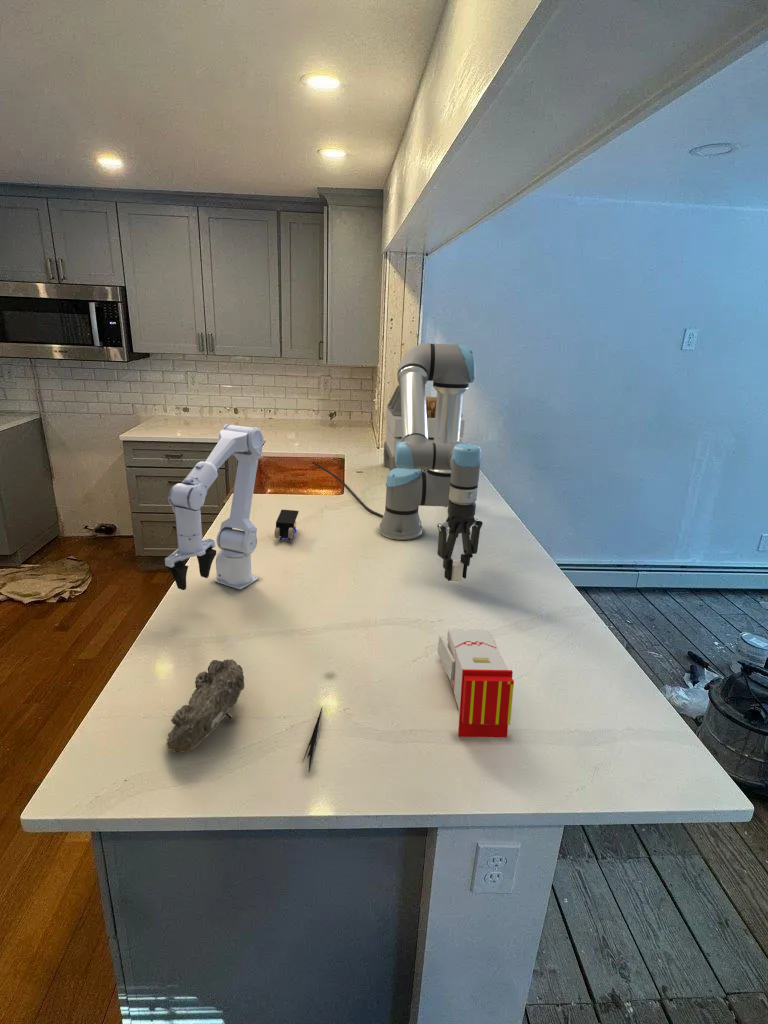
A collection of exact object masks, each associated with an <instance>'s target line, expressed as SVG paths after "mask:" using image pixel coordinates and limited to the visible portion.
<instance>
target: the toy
mask: <svg viewBox="0 0 768 1024" xmlns="http://www.w3.org/2000/svg"><path fill="white" fill-rule="evenodd" d="M446 640H447V643H446V641H445V639H444V636H443V635H442V634H439V637H438V646H437V656H438V657H439V659H440V661H441V663H442V666H443V668H444V670H445V672H446V674H447V677H448V679H449V681H450V684H451V687H452V690H453V693H454V697H455V701H456V705H457V708H458V711H459V714H458V715H459V716H458V730H457V731H458V732H457V737H458V738H508V731H509V726H510V725H511V717H512V707H513V697H514V696H513V695H514V684H515V680H514V679H513V673H514V671H513V670H512V669H508V667H507V665H506V662H505V661H504V659H503V658H502V655H501V653H500V651H499V649H498V647H497V643H496V639H495V637H494V635H493V634H491V632H490V631H489V629H467V628H466V629H465V628H463V629H461V628H460V629H459V628H448V630H447V639H446Z"/></svg>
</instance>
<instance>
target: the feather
mask: <svg viewBox="0 0 768 1024" xmlns="http://www.w3.org/2000/svg"><path fill="white" fill-rule="evenodd" d="M329 675H330V676H331V675H332V674H331V673H330V674H329ZM322 710H323V707H321V708H320V710H319V713H318V716H317V719H316V723H315V725H314V728H313V731H312V733H311V737H310V739H309V742H308V745H307V748H306V751H305V754H304V757H303V760H302V763H301V767H302V765H303V763H304V761H305V758H308V759H309V760H308V762H307V763H308V764H307V766H308V771H310V770H311V766H312V765H311V764H312V760H313V757H315V756H314V755H315V751H316V749H315V746H317V739H318V733H319V729H320V722H321V717H322V712H323V711H322ZM313 754H314V755H313ZM306 755H307V757H306Z"/></svg>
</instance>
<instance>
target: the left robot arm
mask: <svg viewBox="0 0 768 1024" xmlns="http://www.w3.org/2000/svg"><path fill="white" fill-rule="evenodd" d="M264 440H265V437H264V434H263V433H262V431H261V429H260V428H259V427H256V426H253V427H251V426H243V425H236V424H231V423H226V424H225V425H224V426H223V427H222V429H221V430H220V431H219V432H218V441H217V444H216V445H215V446H214V448H213V449H212V450H211V452H210V454H209V455H208V456H207V458H206V460H204V461H198V462H197V463H196V464H195V465H194V467H193V468H192V469H191V470H190V471H189V473H188V474H187V475H186V477H184V479H183V480H182V482H178V483H176V484H173V486H172V487H171V488H170V489H169V493H168V497H167V502H168V504H169V505H170V506H171V508H172V513H173V514H174V515H175V527H176V538H177V549H176V550H175V551H173V552H172V553H170V555H169V556H167V557H165V558H164V565H165V568H166V569H167V570H168V571H169V572H170V574H171V575H172V578H173V580H174V582H175V585H176V587H177V589H178V590H181V591H185V590H187V573H188V569H189V566H188V565H186V564H184V562H183V561H185V560H187V559H190V558H193V557H196V559H197V563H198V570H199V571H198V572H199V575H200V577H202V578H205V579H208V578H209V577H210V573H211V572H210V571H211V569H212V568H211V567H212V564H213V561H214V559H215V572H216V578H215V579H214V583H215V582H216V583H218V584H221V585H224V586H228V587H230V588H233V589H237V590H243V589H244V588H246V587H248V586H249V585H251V584H252V583H255V582H256V581H258V580H259V577H258V576H256V575H252V554H253V552H255V550H256V549H257V545H258V537H257V530H258V528H257V526H256V525H254V523H253V522H252V521H251V520H250V517H251V509H252V504H253V498H254V497H253V496H254V492H255V491H254V490H255V484H256V478H257V477H256V476H257V472H258V471H257V470H258V465H259V460H260V459H261V458H262V453H263V447H264ZM231 456H234V457H235V458H236V460H237V469H236V474H235V481H234V487H233V494H232V499H231V507H230V513H229V517H228V518H227V519H225V520H224V521H222V522H221V523H220V528H219V531H218V533H217V534H216V538H215V539H216V540H215V539H213V538H207V539H204V540H203V529H202V528H203V527H202V516H201V515H202V512H201V508H202V507H203V506H204V504H205V501H206V496H207V495H208V490H209V489H210V487H211V486H212V485H213V484H214V482H215V481H216V480H217V478H218V477H219V473H218V470H219V469H220V467H222V465H224V463H225V462H226V461H227V460H228V459H229V458H230V457H231ZM216 546H217V547H218V549H220V550H219V551H218V552H217V550H216V549H214V548H216ZM215 557H216V558H215Z"/></svg>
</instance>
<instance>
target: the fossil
mask: <svg viewBox="0 0 768 1024" xmlns="http://www.w3.org/2000/svg"><path fill="white" fill-rule="evenodd" d="M243 670H244V669H243V667H242V665H240V664H237V662H236V661H235V660H234V659H232V658H231V659H227V658H226V659H224V660H223V661H222V660H217V659H212V660H211V661H210V663H209V665H208V666H207V671H201V672H199V673H198V674H197V675H196V676H195V680H194V684H195V685H194V687H195V689H194V690H193V693H192V694H191V697H190V698H189V700H188V704H184V705H182V706H181V707H180V709H177V710H176V711H175V713H174V715H173V716H172V718H171V723H172V724H173V727H172V730H171V731H170V732H168V734H167V738H166V741H167V742H166V745H167V749H168V750H169V751H173V752H174V753H176V754H178V753H182V752H188V751H189V752H192V751H193V750H195V748H196V747H197V746H199V744H200V743H201V742H203V741H204V740H205V739H206V738H207V737H208V736H209V735H210V734H211V733H212V732H214V730H215V729H217V727H218V726H219V724H220V722H221V721H222V720H223V719H224V718H225V716H226V717H227V719H229V720H233V717H232V715H230V714H229V710H230V709H231V708H234V706H235V704H236V703H237V702H238V699H239V697H240V695H241V693H242V691H243V690H245V689H244V688H245V675H244V671H243Z"/></svg>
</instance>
